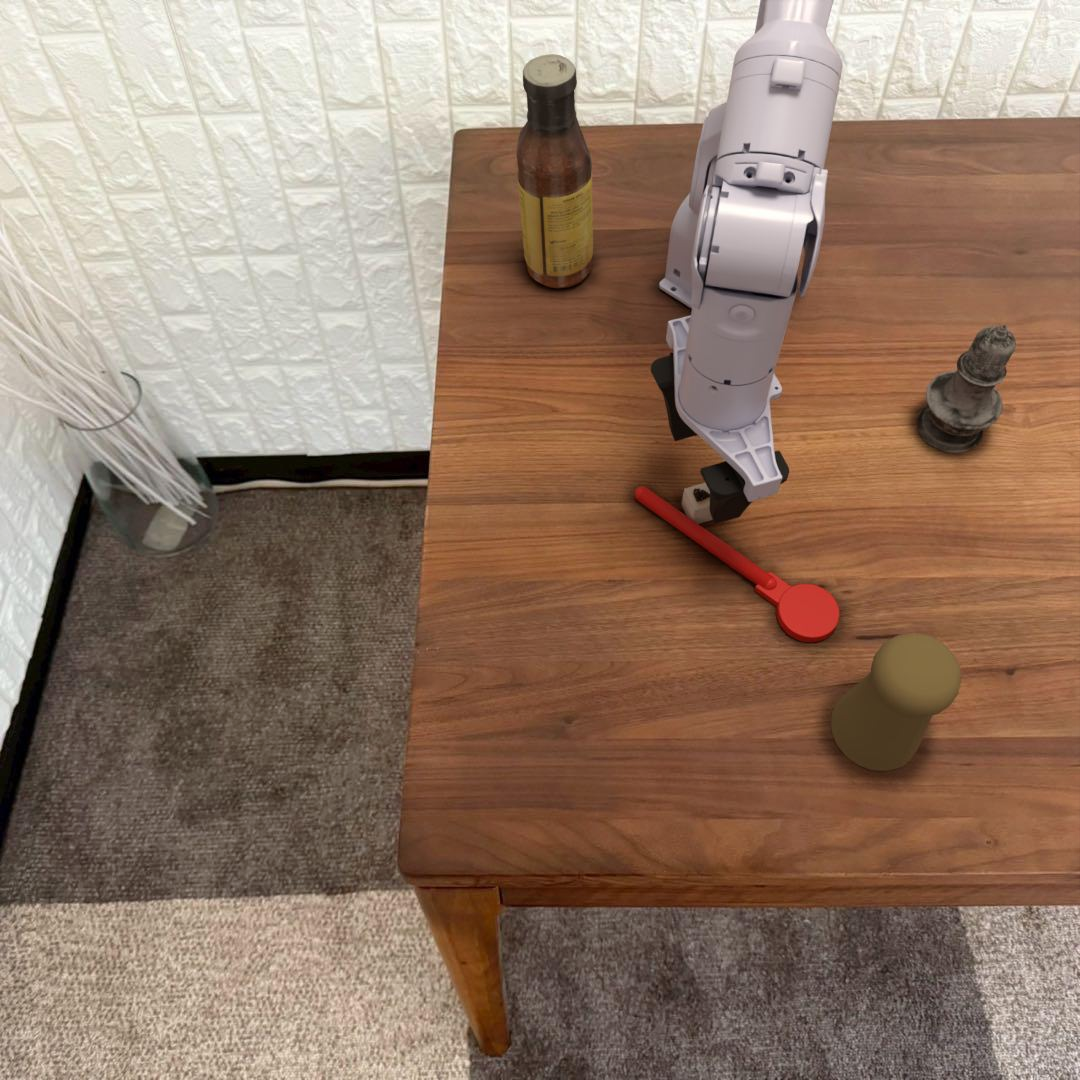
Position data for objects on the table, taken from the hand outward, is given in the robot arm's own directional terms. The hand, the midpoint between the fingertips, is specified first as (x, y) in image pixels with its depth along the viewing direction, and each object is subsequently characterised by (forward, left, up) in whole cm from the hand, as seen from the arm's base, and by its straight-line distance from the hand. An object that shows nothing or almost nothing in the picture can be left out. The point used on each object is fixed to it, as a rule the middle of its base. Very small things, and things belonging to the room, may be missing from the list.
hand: (705, 474), depth 75 cm
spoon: (+5, -2, -5) cm, 7 cm away
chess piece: (+10, +20, -5) cm, 23 cm away
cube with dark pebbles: (0, 0, -5) cm, 5 cm away
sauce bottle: (-26, +12, -5) cm, 29 cm away
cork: (+20, -6, -5) cm, 21 cm away
